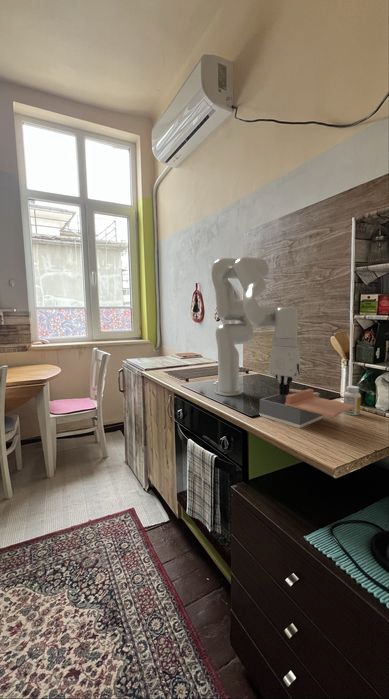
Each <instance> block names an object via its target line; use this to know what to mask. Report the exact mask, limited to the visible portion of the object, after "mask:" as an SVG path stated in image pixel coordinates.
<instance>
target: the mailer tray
mask: <svg viewBox="0 0 389 699" xmlns="http://www.w3.org/2000/svg"><path fill="white" fill-rule="evenodd" d="M287 395H290V394H287ZM287 395H280V394H278V393H277V394H273V395H271V396H270V395H269V396H266V397H262V398H259V409H258V410H259V413H258V414H259V415H260V416H259V415H258V416H259V417H262V418H266V419H269V420H272V421H275V422H277V423H278V422H279V423H282V424H285V425H289V426H291V427H295V428H299V429H301V428H304V427H306V426H308V425H310V424H313V423H315V422H317V421H320V420H323V416H324V415H321V414H318V413H314V412H310V411H306V410H302V409H298V408H294V407H290V406H286V405H285V403H286V396H287Z"/></svg>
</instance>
